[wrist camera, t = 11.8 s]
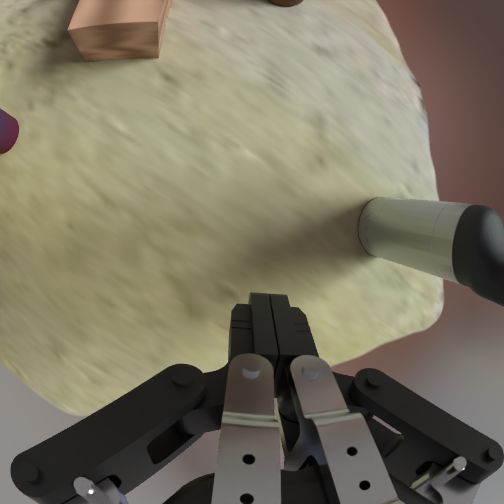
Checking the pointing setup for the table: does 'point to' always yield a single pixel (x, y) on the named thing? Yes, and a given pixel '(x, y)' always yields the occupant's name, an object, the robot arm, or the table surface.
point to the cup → (7, 131)
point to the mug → (286, 2)
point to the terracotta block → (119, 28)
